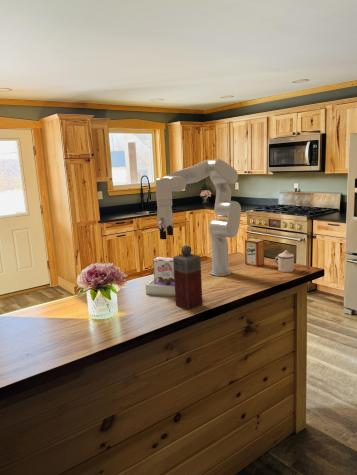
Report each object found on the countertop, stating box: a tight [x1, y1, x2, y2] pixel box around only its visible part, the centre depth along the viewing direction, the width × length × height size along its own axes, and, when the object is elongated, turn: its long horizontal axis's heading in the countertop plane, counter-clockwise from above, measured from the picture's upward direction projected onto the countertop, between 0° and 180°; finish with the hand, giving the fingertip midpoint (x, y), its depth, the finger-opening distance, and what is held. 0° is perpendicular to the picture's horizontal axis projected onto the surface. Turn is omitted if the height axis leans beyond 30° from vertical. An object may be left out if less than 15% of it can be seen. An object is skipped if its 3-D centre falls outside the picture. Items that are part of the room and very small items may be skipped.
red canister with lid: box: [172, 245, 203, 311], centre depth 172 cm, size 9×11×28 cm
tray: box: [145, 278, 175, 297], centre depth 194 cm, size 12×20×5 cm, turn 71°
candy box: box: [152, 256, 175, 286], centre depth 192 cm, size 14×6×16 cm, turn 64°
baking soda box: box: [244, 237, 265, 268], centre depth 234 cm, size 10×6×16 cm
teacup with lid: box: [274, 250, 295, 273], centre depth 220 cm, size 12×9×12 cm
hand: (166, 237), depth 189 cm, fingers open, 9 cm apart
